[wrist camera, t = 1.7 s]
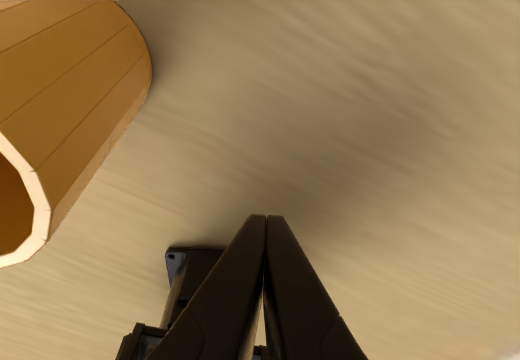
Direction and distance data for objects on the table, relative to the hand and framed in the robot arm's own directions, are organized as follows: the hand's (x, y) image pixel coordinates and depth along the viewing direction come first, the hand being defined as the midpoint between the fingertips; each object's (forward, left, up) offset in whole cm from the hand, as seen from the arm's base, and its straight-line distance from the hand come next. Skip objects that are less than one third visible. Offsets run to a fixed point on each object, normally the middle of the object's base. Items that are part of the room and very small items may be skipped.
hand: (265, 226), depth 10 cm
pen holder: (0, +10, -12) cm, 16 cm away
